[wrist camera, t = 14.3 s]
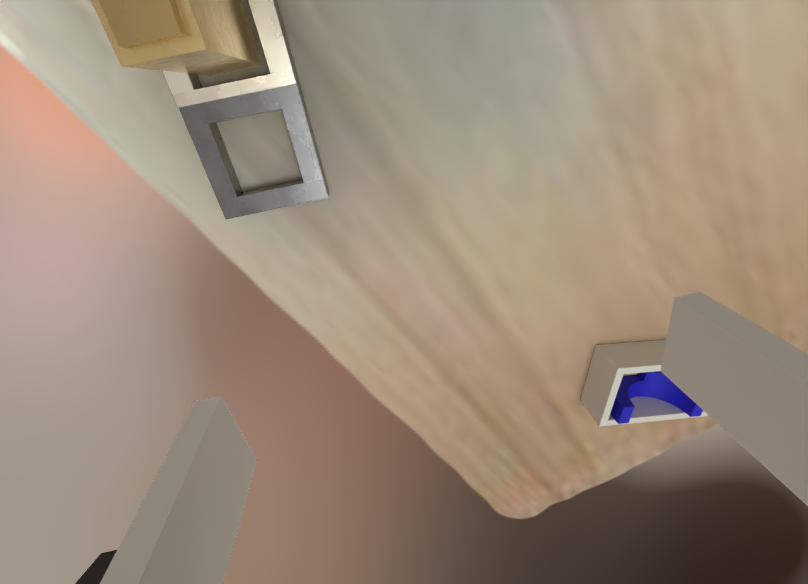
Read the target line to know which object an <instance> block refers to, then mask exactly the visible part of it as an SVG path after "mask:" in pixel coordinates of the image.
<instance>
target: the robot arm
mask: <svg viewBox="0 0 808 584" xmlns="http://www.w3.org/2000/svg"><path fill="white" fill-rule="evenodd" d="M661 372H662V373H663V374H664V375H665V376H666V377H667V378H668V379H670V380H671V381H672V382H673V383H674V384H675V385H676V386H677V387H678V388H679V389H680V390H682V391H683V392H684V393H685V394H686V395H687V396H688V397H689V398H690V399H691V400H693V401H694V402H695V403H696V404H697V405H698V406H699V407H700V408H701V409H702V410H703V411H705V412H706V413H707V414H708V415H709V416H710V417H711V418H712V419H713V420H714V421H715V422H717V423H718V424H719V425H720V426H721V427H722V428H723V429H724V430H725V431H726V432H727V433H729V434H730V435H731V436H732V437H733V438H734V439H735V440H736V441H737V442H738V443H740V444H741V445H742V446H743V447H744V448H745V449H746V450H747V451H748V452H749V453H750V454H752V455H753V456H754V457H755V458H756V459H757V460H758V461H759V462H760V463H761V464H763V465H764V466H765V467H766V468H767V469H768V470H769V471H770V472H771V473H772V474H774V475H775V476H776V477H777V478H778V479H779V480H780V481H781V482H782V483H783V484H785V486H787V487H788V488H789V489H790V490H791V491H792V492H793V493H794V494H795V495H796V496H797V497H799V498H800V499H801V500H802V501H803V502H804V503H805V504H806V505H807V506H808V354H807V353H805V352H803V351H801V350H800V349H798V348H796V347H794V346H793V345H791V344H789V343H788V342H786V341H784V340H782V339H781V338H779V337H777V336H775V335H774V334H772V333H770V332H769V331H767V330H765V329H763V328H762V327H760V326H758V325H756V324H755V323H753V322H751V321H750V320H748V319H746V318H744V317H743V316H741V315H739V314H737V313H736V312H734V311H732V310H731V309H729V308H727V307H725V306H724V305H722V304H720V303H719V302H717V301H715V300H713V299H712V298H710V297H708V296H706V295H705V294H703V293H701V292H698V293H693V294H688V295H684V296H679V297H675V298H674V302H673V308H672V313H671V318H670V323H669V329H668V334H667V339H666V345H665V350H664V355H663V361H662V366H661ZM256 461H257V459H256V457H255V456H254V454H253V452H252V450H251V448H250V447H249V445H248V443H247V441H246V439H245V438H244V436H243V434H242V432H241V430H240V428H239V427H238V425H237V423H236V421H235V419H234V417H233V416H232V414H231V412H230V410H229V409H228V407H227V405H226V403H225V401H224V399H223V398H222V396H217V397H213V398H208V399H203V400H199V401H194V403H193V405H192V407H191V409H190V411H189V413H188V415H187V417H186V419H185V421H184V423H183V425H182V426H181V428H180V430H179V432H178V434H177V436H176V438H175V440H174V442H173V444H172V446H171V447H170V450H169V451H168V453H167V455H166V457H165V459H164V461H163V463H162V465H161V467H160V469H159V471H158V472H157V475H156V476H155V478H154V481H153V482H152V484H151V486H150V488H149V490H148V492H147V494H146V496H145V497H144V499H143V501H142V503H141V505H140V507H139V509H138V511H137V513H136V515H135V517H134V519H133V521H132V523H131V524H130V526H129V529H128V530H127V532H126V534H125V536H124V538H123V540H122V542H121V544H120V546H119V548H118V549H117V550H114V551H110V552H105V553H102V554H100V555H99V557H98V558H97V559H96V560H95V561H94V563H93V564H92V565H91V566H90V567H89V568H88V569H87V571H86V572H85V573H84V574H83V575H82V576H81V578H80V579H79V580H78V581H77V582H76V584H224V581H225V577H226V573H227V569H228V566H229V562H230V558H231V555H232V550H233V547H234V543H235V540H236V536H237V532H238V528H239V525H240V521H241V517H242V513H243V510H244V506H245V502H246V498H247V495H248V491H249V487H250V483H251V480H252V476H253V472H254V468H255V465H256Z"/></svg>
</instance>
